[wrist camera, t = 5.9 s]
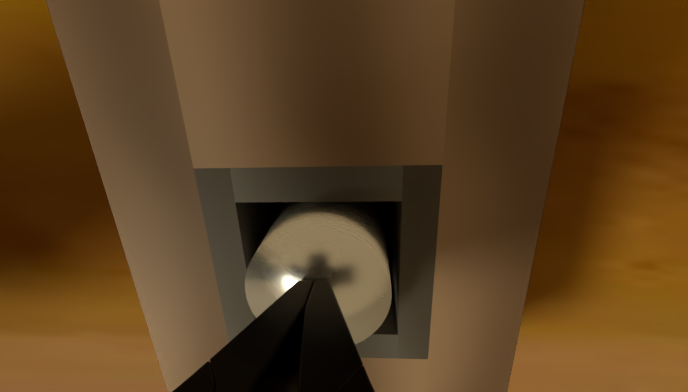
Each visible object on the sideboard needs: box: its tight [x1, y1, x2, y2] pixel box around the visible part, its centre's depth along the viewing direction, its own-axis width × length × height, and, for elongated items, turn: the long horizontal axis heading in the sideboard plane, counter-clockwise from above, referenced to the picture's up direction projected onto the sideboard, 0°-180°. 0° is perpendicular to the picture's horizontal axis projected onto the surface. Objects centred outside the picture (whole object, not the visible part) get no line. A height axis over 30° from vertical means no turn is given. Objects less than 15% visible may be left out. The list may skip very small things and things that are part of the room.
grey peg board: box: [46, 0, 585, 392], centre depth 10 cm, size 12×26×5 cm, turn 2°
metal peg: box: [245, 201, 392, 344], centre depth 11 cm, size 4×4×5 cm
